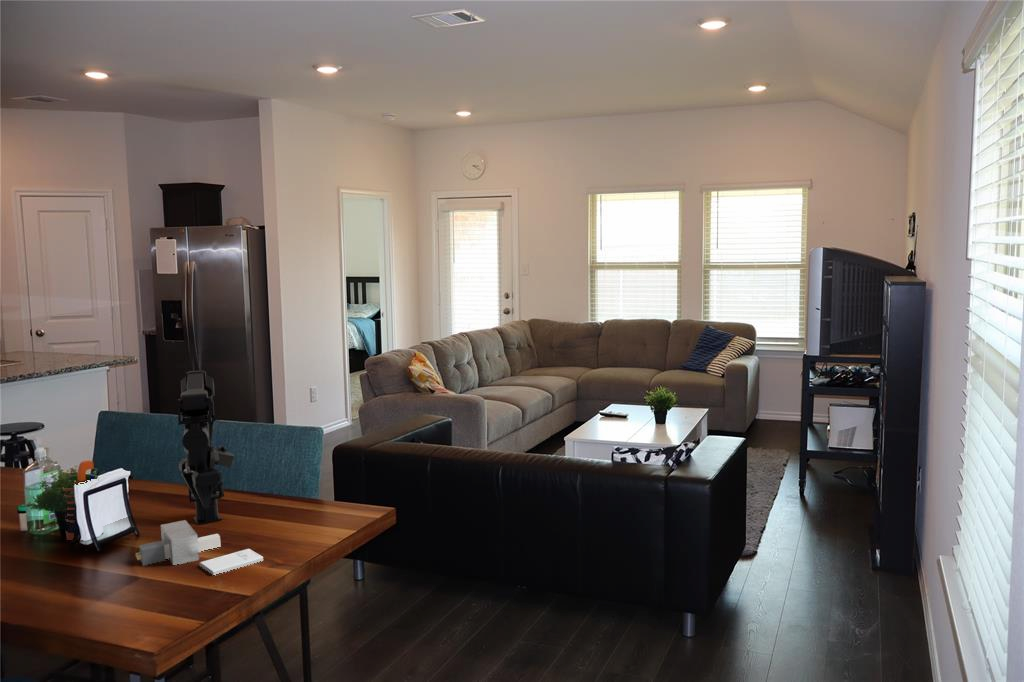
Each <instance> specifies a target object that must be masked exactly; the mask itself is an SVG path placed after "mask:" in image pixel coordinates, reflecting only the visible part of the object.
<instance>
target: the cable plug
mask: <svg viewBox="0 0 1024 682" xmlns="http://www.w3.org/2000/svg"><path fill="white" fill-rule="evenodd" d="M217 547H222V545H221V536H220V534H219V533H214V534H209V535H206V536H205V535H204V536H201V537H198V550H199V553H202V552H201V551H203V552H205V551H204V550H208V549H212V550H214V549H213V548H217ZM138 549H139V551H138V552H135V558H136V560H137V561H140V563H141V564H142V566H143V567H146V566H149V565H148V564H150V565H153V564H152V563H155V564H157V563H156V562H159V563H162V562H161V561H164V562H166V560H165V559H168V560H170V559H169V558H170V551H169V544H167V545H163V543H162V540H159V541H158V540H157V541H152V542H149V543H144V544H140V545H138ZM217 549H218V548H217ZM208 551H209V550H208ZM145 565H146V566H145Z"/></svg>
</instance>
